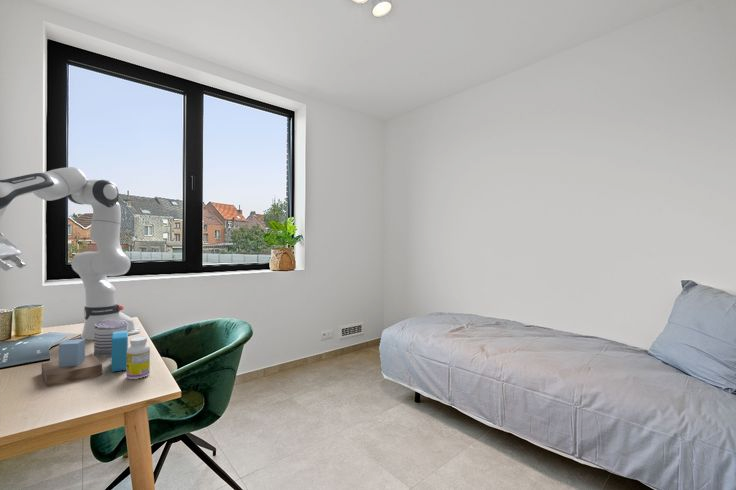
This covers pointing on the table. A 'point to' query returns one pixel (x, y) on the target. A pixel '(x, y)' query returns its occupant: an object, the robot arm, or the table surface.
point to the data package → (119, 351)
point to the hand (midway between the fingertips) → (17, 268)
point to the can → (106, 335)
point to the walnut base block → (70, 371)
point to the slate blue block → (71, 352)
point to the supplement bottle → (138, 358)
